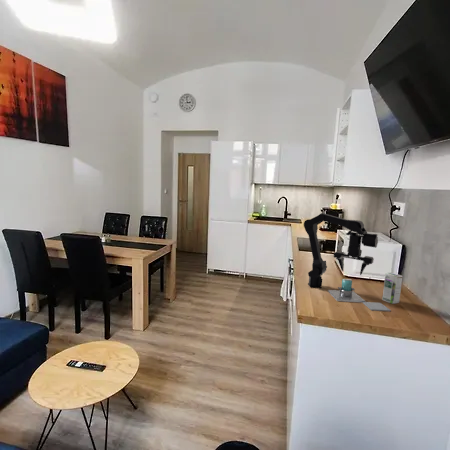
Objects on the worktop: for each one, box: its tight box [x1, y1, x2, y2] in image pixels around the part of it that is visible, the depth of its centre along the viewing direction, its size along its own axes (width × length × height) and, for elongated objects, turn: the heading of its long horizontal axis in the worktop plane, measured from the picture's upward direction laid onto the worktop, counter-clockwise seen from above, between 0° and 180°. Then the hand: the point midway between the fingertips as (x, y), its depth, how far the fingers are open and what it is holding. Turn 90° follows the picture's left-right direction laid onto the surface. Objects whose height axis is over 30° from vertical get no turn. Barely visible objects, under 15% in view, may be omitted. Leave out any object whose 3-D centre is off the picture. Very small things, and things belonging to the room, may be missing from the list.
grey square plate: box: [327, 286, 366, 304], centre depth 149 cm, size 14×14×5 cm
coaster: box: [362, 301, 392, 312], centre depth 138 cm, size 9×9×1 cm
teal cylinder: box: [341, 278, 353, 291], centre depth 149 cm, size 5×5×6 cm
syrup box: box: [381, 272, 404, 305], centre depth 145 cm, size 6×6×14 cm
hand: (351, 273), depth 151 cm, fingers open, 9 cm apart
